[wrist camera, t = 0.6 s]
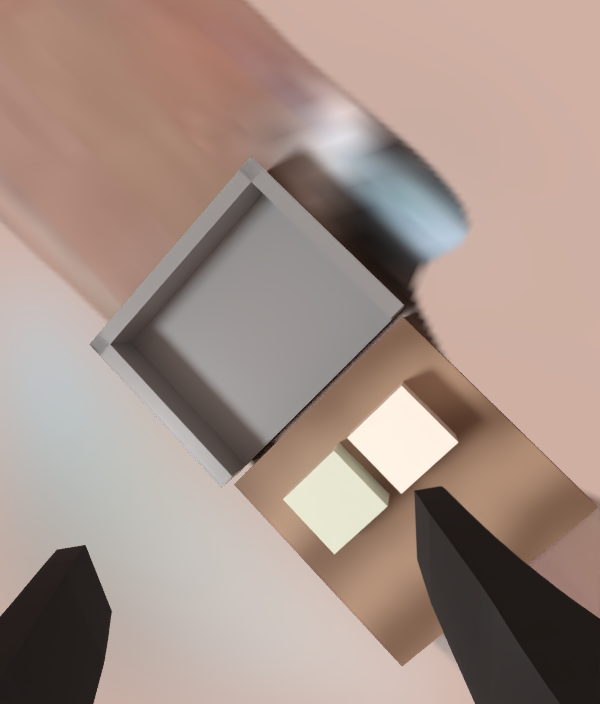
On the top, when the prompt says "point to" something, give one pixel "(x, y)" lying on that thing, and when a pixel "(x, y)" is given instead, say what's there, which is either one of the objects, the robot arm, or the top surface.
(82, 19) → the top surface
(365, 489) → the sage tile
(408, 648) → the plate
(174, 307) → the tray
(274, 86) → the top surface
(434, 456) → the cream tile
